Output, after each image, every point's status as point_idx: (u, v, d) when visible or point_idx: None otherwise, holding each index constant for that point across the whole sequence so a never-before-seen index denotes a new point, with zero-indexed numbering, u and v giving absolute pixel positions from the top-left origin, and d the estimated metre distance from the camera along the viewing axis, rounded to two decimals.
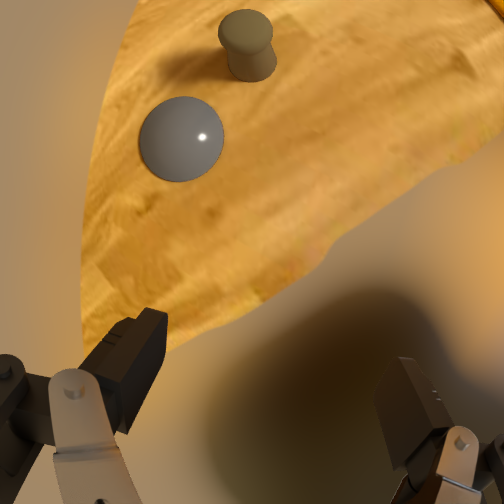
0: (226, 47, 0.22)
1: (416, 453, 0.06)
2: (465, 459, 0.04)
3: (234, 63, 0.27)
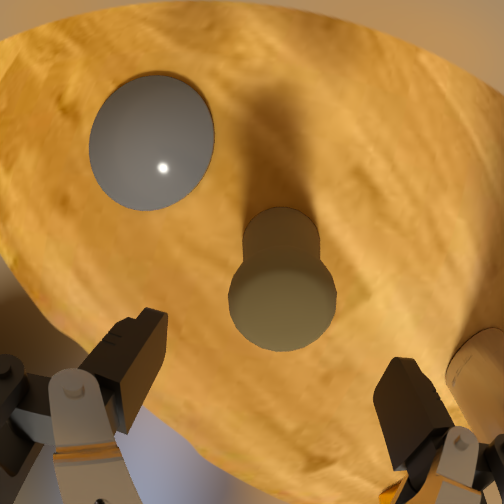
0: (240, 270, 0.13)
1: (416, 453, 0.06)
2: (465, 459, 0.04)
3: (252, 240, 0.18)
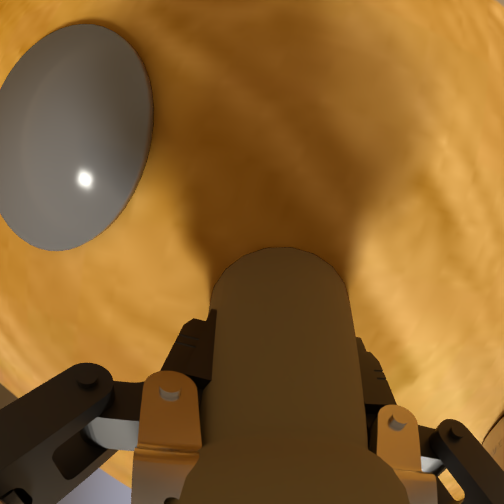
0: None
1: None
2: (396, 439, 0.05)
3: (214, 342, 0.08)
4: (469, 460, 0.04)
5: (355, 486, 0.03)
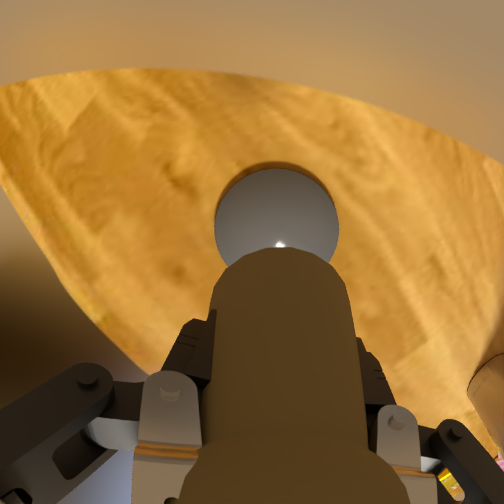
0: None
1: None
2: (396, 439, 0.05)
3: (214, 341, 0.08)
4: (469, 460, 0.04)
5: (355, 486, 0.03)
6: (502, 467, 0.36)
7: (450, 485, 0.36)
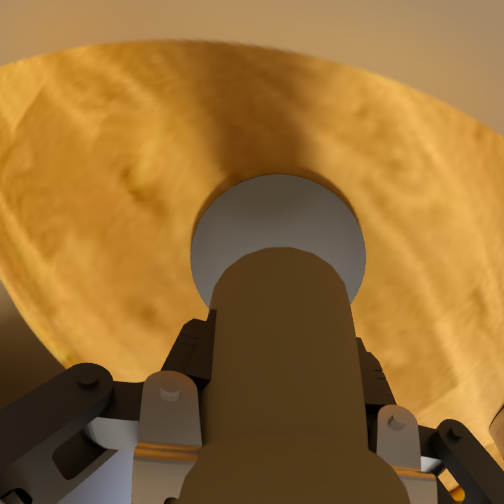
0: None
1: None
2: (396, 439, 0.05)
3: (214, 342, 0.08)
4: (469, 460, 0.04)
5: (356, 486, 0.03)
6: None
7: None
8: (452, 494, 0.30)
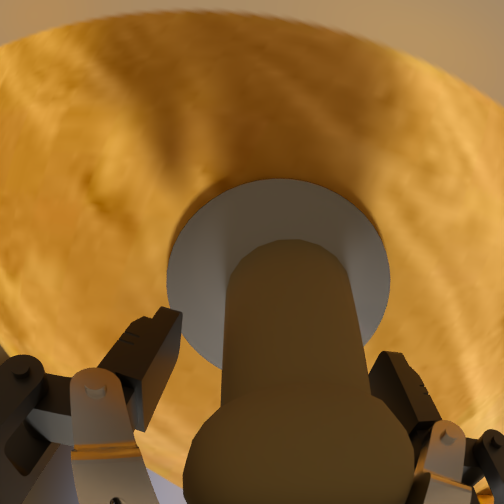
0: (202, 456, 0.04)
1: None
2: (450, 453, 0.04)
3: (238, 317, 0.09)
4: (503, 468, 0.04)
5: (366, 414, 0.04)
6: None
7: None
8: None
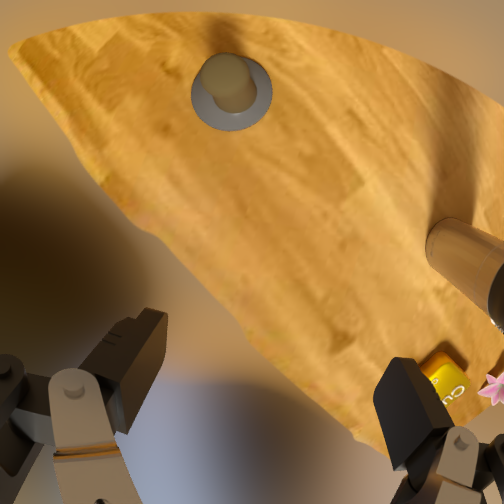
0: None
1: (416, 453, 0.06)
2: (465, 459, 0.04)
3: None
4: None
5: None
6: (494, 394, 0.47)
7: (440, 397, 0.47)
8: (424, 366, 0.48)
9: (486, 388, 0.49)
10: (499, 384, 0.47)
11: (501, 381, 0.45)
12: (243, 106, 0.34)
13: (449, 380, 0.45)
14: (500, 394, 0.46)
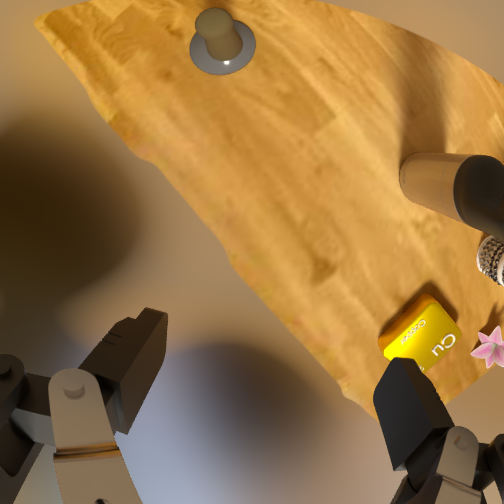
0: None
1: (416, 453, 0.06)
2: (465, 459, 0.04)
3: None
4: None
5: None
6: (488, 355, 0.50)
7: (429, 346, 0.50)
8: (411, 308, 0.51)
9: (479, 348, 0.52)
10: (492, 344, 0.50)
11: (494, 339, 0.48)
12: (230, 53, 0.38)
13: (437, 325, 0.48)
14: (494, 355, 0.49)
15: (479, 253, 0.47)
